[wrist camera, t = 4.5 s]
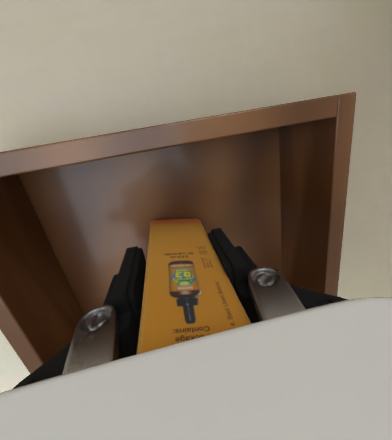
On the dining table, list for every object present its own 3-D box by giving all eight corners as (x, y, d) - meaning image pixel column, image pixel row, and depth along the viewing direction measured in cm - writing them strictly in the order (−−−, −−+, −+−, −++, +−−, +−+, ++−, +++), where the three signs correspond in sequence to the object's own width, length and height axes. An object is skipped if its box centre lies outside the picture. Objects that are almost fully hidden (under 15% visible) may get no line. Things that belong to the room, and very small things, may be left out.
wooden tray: (287, 111, 13) (357, 91, 8) (288, 288, 18) (333, 339, 13) (0, 160, 11) (-110, 170, 7) (88, 340, 16) (59, 417, 11)
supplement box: (152, 265, 14) (135, 487, 5) (150, 217, 13) (122, 391, 4) (200, 262, 15) (264, 459, 6) (201, 216, 14) (287, 366, 4)
